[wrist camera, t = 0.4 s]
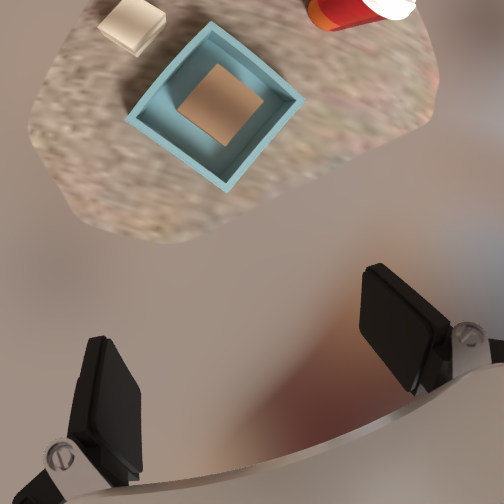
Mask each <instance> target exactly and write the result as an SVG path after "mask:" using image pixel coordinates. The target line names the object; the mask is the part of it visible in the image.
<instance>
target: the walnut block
mask: <svg viewBox="0 0 504 504" xmlns="http://www.w3.org/2000/svg"><path fill="white" fill-rule="evenodd" d="M263 102H264V100H262V99H261V98H260V97H259V96H258V95H257V94H255V93H254V92H253V91H252V90H251V89H249V88H248V87H247V86H246V85H245V84H243V83H242V82H241V81H240V80H238V79H237V78H236V77H235V76H233V75H232V74H231V73H230V72H228V71H227V70H226V69H225V68H223V67H222V66H221V65H219V64H218V63H217V64H216V65H215V67H214V68H213V69H212V70H211V71H210V72H209V73H208V74H207V75H206V76H205V78H204V79H203V80H202V81H201V82H200V83H199V84H198V85H197V87H196V88H195V89H194V90H193V91H192V92H191V94H190V95H189V96H188V97H187V98H186V99H185V101H184V102H183V103H182V104H181V105H180V107H179V108H178V109H177V112H178V113H179V114H181V115H182V116H184V117H185V118H186V119H188V120H189V121H190V122H192V123H193V124H194V125H196V126H197V127H198V128H200V129H201V130H202V131H204V132H205V133H206V134H208V135H209V136H210V137H212V138H213V139H214V140H215V141H217V142H218V143H220V144H222V145H223V146H226V145H227V144H228V143H229V141H230V140H231V139H232V138H233V137H234V135H235V134H236V133H237V132H238V131H239V130H240V128H241V127H242V126H243V125H244V124H245V123H246V121H247V120H248V119H249V118H250V117H251V116H252V114H253V113H254V112H255V111H256V110H257V109H258V108H259V106H260V105H261V104H262V103H263Z"/></svg>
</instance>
